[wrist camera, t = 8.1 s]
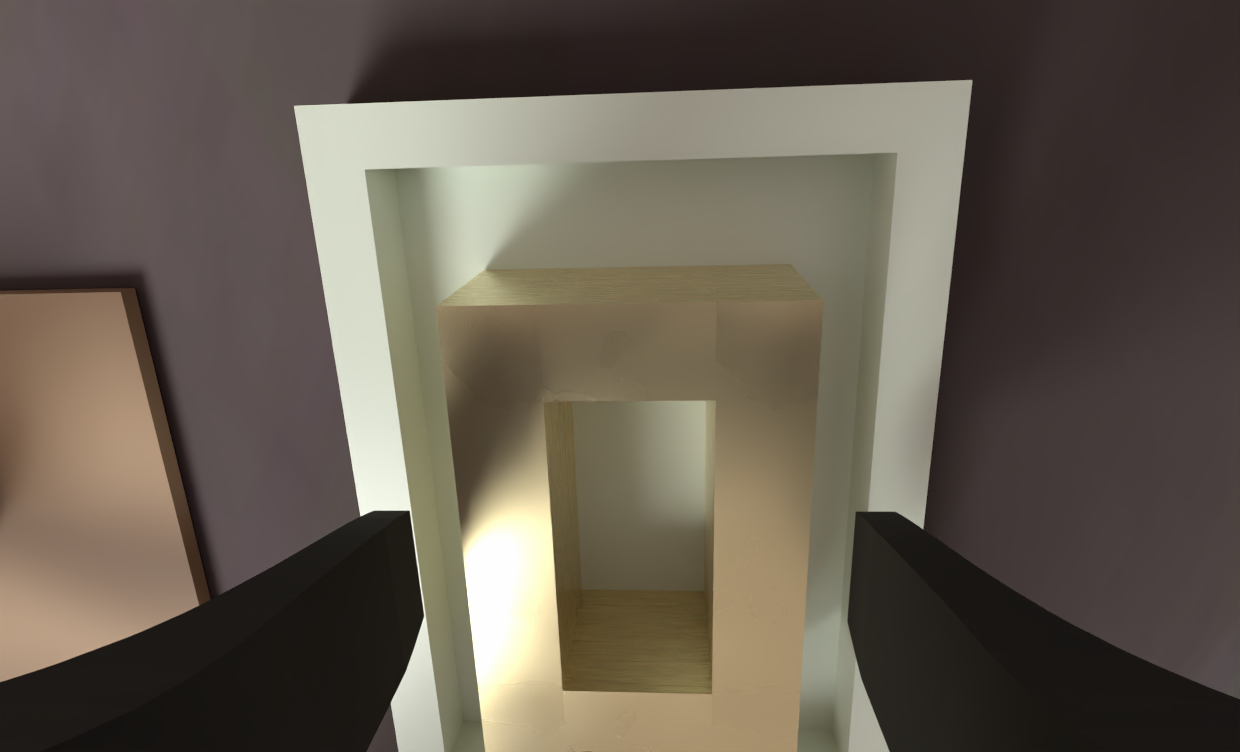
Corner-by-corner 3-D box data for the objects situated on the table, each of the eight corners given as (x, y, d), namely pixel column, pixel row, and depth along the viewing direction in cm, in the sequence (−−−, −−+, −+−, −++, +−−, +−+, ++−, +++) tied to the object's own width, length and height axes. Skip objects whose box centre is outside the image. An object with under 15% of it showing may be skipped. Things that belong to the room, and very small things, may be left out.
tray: (868, 748, 17) (891, 818, 15) (432, 737, 18) (406, 803, 16) (930, 86, 13) (972, 80, 11) (342, 109, 13) (294, 105, 12)
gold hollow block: (790, 263, 13) (823, 300, 10) (771, 696, 16) (793, 816, 13) (484, 269, 14) (436, 306, 11) (521, 691, 17) (491, 805, 14)
